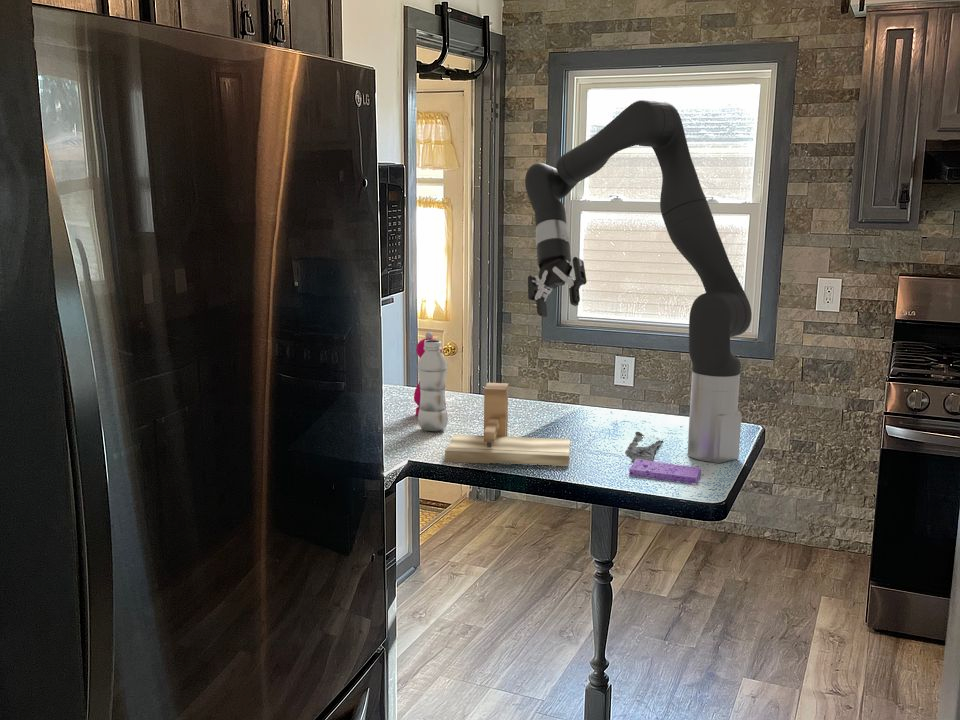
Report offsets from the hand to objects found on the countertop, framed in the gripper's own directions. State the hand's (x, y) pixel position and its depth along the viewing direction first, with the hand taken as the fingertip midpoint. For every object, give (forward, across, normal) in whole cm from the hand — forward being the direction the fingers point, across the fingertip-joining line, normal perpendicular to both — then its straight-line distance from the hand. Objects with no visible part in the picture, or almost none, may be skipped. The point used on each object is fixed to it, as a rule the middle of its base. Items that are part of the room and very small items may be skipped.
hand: (558, 310), depth 191 cm
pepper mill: (+16, -38, -3) cm, 41 cm away
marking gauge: (+31, -12, -11) cm, 35 cm away
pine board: (+33, -7, -12) cm, 36 cm away
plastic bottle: (+23, -29, -10) cm, 38 cm away
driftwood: (+32, +11, +11) cm, 36 cm away
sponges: (+41, +21, 0) cm, 46 cm away
